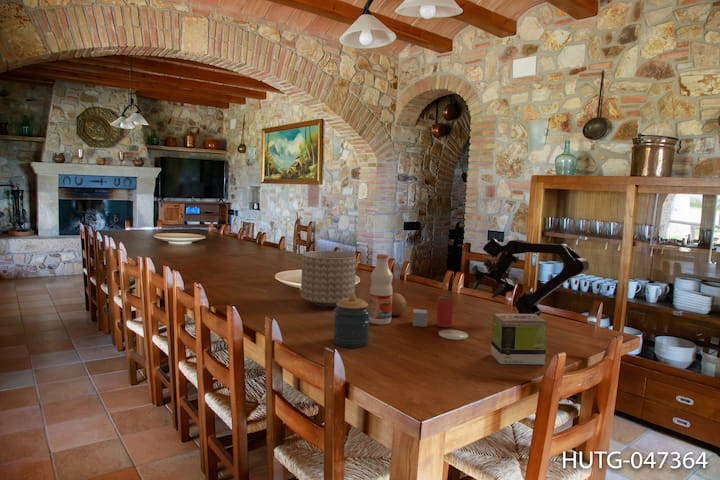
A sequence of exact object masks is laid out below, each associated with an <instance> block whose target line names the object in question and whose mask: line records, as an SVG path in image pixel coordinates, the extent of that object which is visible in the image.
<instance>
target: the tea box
mask: <svg viewBox="0 0 720 480" xmlns="http://www.w3.org/2000/svg"><path fill="white" fill-rule="evenodd" d="M491 319H492V320H491V321H492V323H491V324H492V325H491V340H490V341H491V343H490V344H491V345H490V355H491V356H492V357H493V358H494V360H496V362H497V363H499V365H543V366H544V365H546V352H547V350H546V349H547V336H548V335H547V333H548V321H547V320H545V319H544V318H542V317H540V315H539V316H537V315H536V314H519V313H503V312H502V313H500V312H499V313H498V312H497V313H496V312H495V313H492V318H491Z"/></svg>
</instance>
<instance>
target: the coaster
mask: <svg viewBox="0 0 720 480" xmlns="http://www.w3.org/2000/svg"><path fill="white" fill-rule="evenodd" d="M438 336H439V337H441V338H442V339H447V340H453V341H454V340H455V341H460V340H466V339H468V337H469V335H468V333H466V332H465V331H462V330H457V329H442V330H439V331H438Z"/></svg>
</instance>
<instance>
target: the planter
mask: <svg viewBox="0 0 720 480" xmlns="http://www.w3.org/2000/svg"><path fill="white" fill-rule="evenodd" d="M356 263H357V255H356V254H355V253H352V252H345V251H336V250H335V251H334V250H332V251H331V250H317V251H306V252H302V254H301V285H300V286H301V287H300V291H301V292H300V293H301V294H300V296H301V299H303V300H306V301H308V302H309V303H311V304H312V305H314V306H316V307H319V308H329V309H330V308H336V307H337V305H336V303H337V302H338V301H340V300H341V299H344V298H349V295H350V294H355V295H356V268H357V265H356Z"/></svg>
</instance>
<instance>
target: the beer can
mask: <svg viewBox="0 0 720 480" xmlns="http://www.w3.org/2000/svg"><path fill="white" fill-rule="evenodd" d="M436 305H437V306H436V319H435V321H436V322H435V325H436V326H438V328H439V327H440V328H443V329H445V328H446V329H447V328H448V329H449V328H451V327H452V326H453V320H454V319H453V318H454V300H453V297H452V296H449V295H440V296H438V299H437V303H436Z"/></svg>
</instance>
